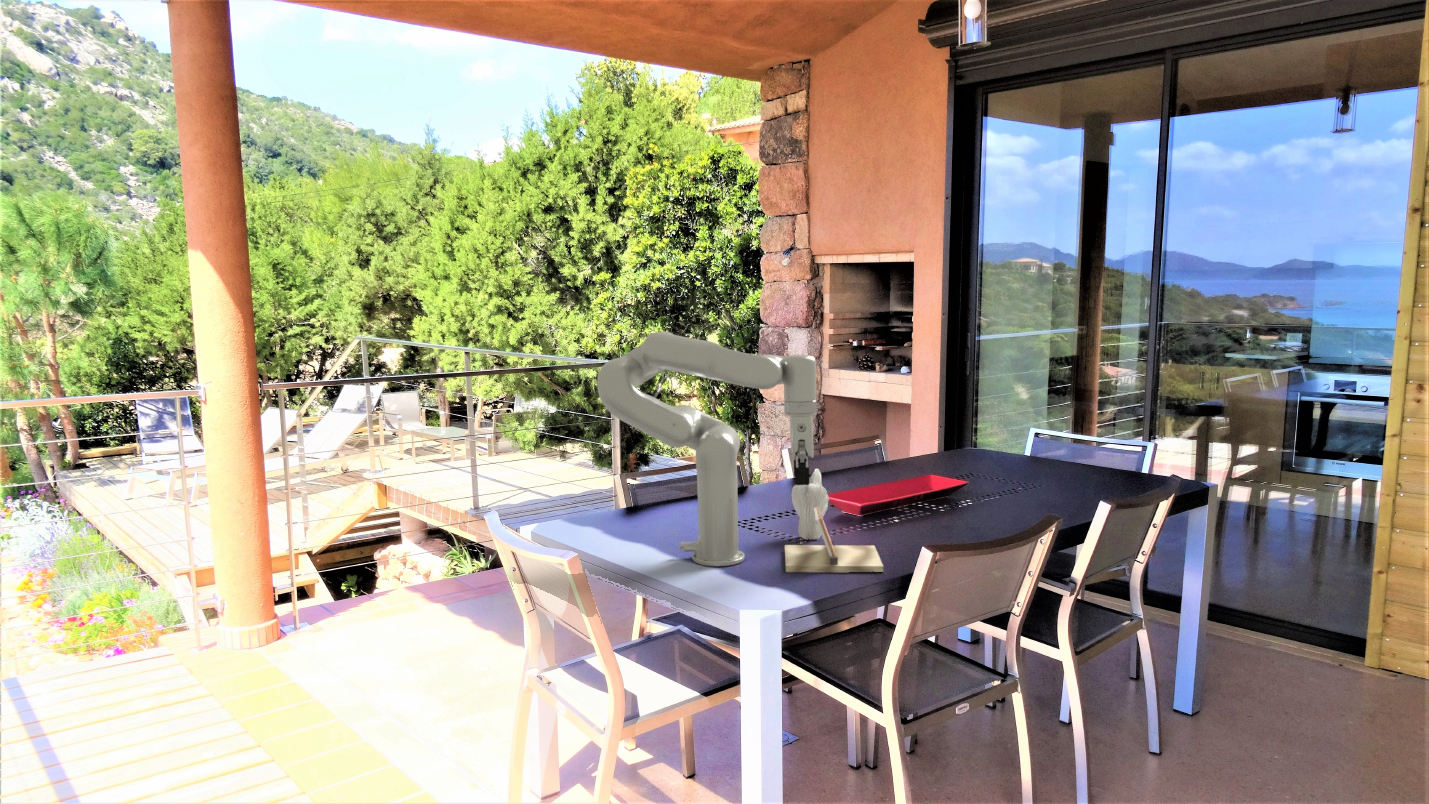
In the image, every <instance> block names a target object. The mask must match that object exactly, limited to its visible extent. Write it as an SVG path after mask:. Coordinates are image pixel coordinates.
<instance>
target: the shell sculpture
mask: <svg viewBox="0 0 1429 804" xmlns="http://www.w3.org/2000/svg"><path fill="white" fill-rule="evenodd" d="M790 495H791V501H792V506H793V508H794V510H795V512H796V514H797V515H798V517H799V521H798V528H797V529H798V530H797V533H798V535H799V537H800V538H801V539H802V540H806V541H809V540H810V541H812V540H818V539H820V538H821V537H822V534H821V531H820V529H819V526H818V523H817V521H816V516H815V511H814V508H815V507H818V506H819V509H820V512H821V515H822V517H823V518H824V516H825V514H826V513H827V510H828V508H829V503H828V502H829V500H830V497H829V495H828V490H826V488H825V487H824V486H823V485H822V473H821V471H820V469H819V468H815V469H814V471H813V472H812V474H811V476H810V479H809V485H796V484H795V485H794V486H793V487H792V489H791V494H790ZM808 539H809V540H808Z"/></svg>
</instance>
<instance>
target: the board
mask: <svg viewBox="0 0 1429 804" xmlns="http://www.w3.org/2000/svg"><path fill="white" fill-rule="evenodd" d="M831 541H832V544H833V548H834V552H835V556H830V555H829V553H828V550H827V547H826V545H823V544H822V545H821V544H817V545H816V544H785V545H784V560H785V561H784V563H785V572H786V573H849V572H868V571H869V572H870V571H871V572H872V571H874V572H883V573H884V564H883V563H882V560H881V557H880V554H879V552H878V551H877V548H876V546H875V545H865V544H864V545H861V544H860V545H854V544H851V545H850V544H849V545H848V544H846V545H845V544H844V545H842V544H841V545H837V544H835V545H834V540H833V539H831Z"/></svg>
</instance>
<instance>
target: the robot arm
mask: <svg viewBox="0 0 1429 804" xmlns="http://www.w3.org/2000/svg"><path fill="white" fill-rule="evenodd" d="M665 370H666V371H670V372H677V373H680V374H681V373H682V374H687V375H691V376H696V377H701V378H705V379H708V380H712V381H713V380H714V381H720V382H723V383H727V384H728V383H729V384H732V385H736V386H742V387H748V388H752V389H757V390H771V389H773V388H775V387H776V386H778V385H783V407H784V410H783V411H784V412H783V413H784V415H785V416H788V417H789V436H790V448H791V454H792V457H793V458H794V460H793V475H794V476H793V477H794V484H795V485H809V480H810V467H809V459H808V458H809V457H810V458H811V459H813V458H814V457H815V456H814V455H815V452H814V423H813V422H814V421H813V420H814V419H813V416H816V415H818V414H817V412H818V411H817V410H818V408H817V407H818V405H817V399H818V398H817V360H816V358H815V356H813V355H810V354H809V355H808V354H797V355H796V354H793V355H791V354H790V355H777V354H776V355H775V354H763V355H758V354H751V353H746V352H742V351H738V350H734V349H730V348H727V347H724V346H722V345H720V344H718V343H716V342H712V341H708V340H703V339H698V338H697V339H696V338H692V337H687V336H682V335H676V334H673V332H669V331H658V332H657V331H656V332H653V333H651V334H649V335H648V336H647V337H646V338H645V339H644V341H643V342H642V343H641V344H640V345H638V346H636V347H635V348H633V349H632V350H630V351H628V352H627V353H625V354H623V355H622V356H620V357H616V358H612V359H610V360H608V361H607V362H605V363H604V364H602V366H601V368H600V370H599V371H598V374H597V379H596V380H597V382H596V383H597V384H596V385H597V392H598V396H599V399H600V401H601V403H602V405H603V406H604V407H605V409H606V410H607V411H608V412H609V413H610V414H611V415H613V416H614V417H615V418H617V419H619V421H622V422H624V423H626V424H627V425H629V426H631V427H633V428H635V429H637V430H638V431H640V432H643V433H644V434H646V435H648V436H650V437H652V438H654V439H657V440H658V441H660V442H661V443H663V444H665V445H666V446H669V447H671V448H675V449H676V448H677V449H679V448H683V447H688V448H689V449H692V450H693V451H694V452H695V467H696V479H697V480H696V482H697V484H696V485H697V525H698V530H697V531H698V534H697V535H698V536H697V540H692V541H691V542H690V541H689V542H688V541H680V544H679V548H680V551H683V552H686V553H690V552H693V553H692V555H691V557H692V561H693V562H694V563H695V564H698V565H702V566H707V567H708V566H709V567H726V566H727V567H728V566H733V565H737V564H740V563H742V562H743V561H744V560H746V559H745V555H746V554H745V553H744V551H742V550H739V508H738V507H739V503H738V502H739V501H738V500H739V499H738V466H737V465H738V463H737V461H738V459H737V457H738V453H739V451H740V449H741V448H740V447H741V439H740V436H739V434H738V432H737V431H736V429H735V428H734V427H732V426H731V425H729V424H727V423H726V422H724V421H721V420H720V419H717V418H715V417H714V416H712V415H709V414H708V413H705V412H703V411H701V410H699V409H697V408H695V407H692V406H690V405H685V404H676V405H671V404H667V402H666V403H665V402H663V401H661V400H659V399H658V398H656V397H655V396H652V395H650V394H647V393H646V392H642V391H641V390H639V389H638V387H640V386H641V385H643V384H644V383H645V382H647V381H649V380H651V379H652V378H653V377H655V376H657V375H658V374H660V373H662V372H663V371H665Z"/></svg>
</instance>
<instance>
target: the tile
mask: <svg viewBox="0 0 1429 804" xmlns="http://www.w3.org/2000/svg"><path fill="white" fill-rule="evenodd" d="M814 511H815V516H816V521H817V523H818V526H819V529H820V531H821V537H822V539H823V542H824V544H825V545H826V547H827V550H828V553H829V555H830V556H835V552H834V548H833V545H834V543H833V544H832V541H831V540H832V539H831V537H830V534H829V531H828V529H827V526H826V523H825V521H824V517H822V515H821V512H820V509H819V506H818V507H815V508H814Z"/></svg>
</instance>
